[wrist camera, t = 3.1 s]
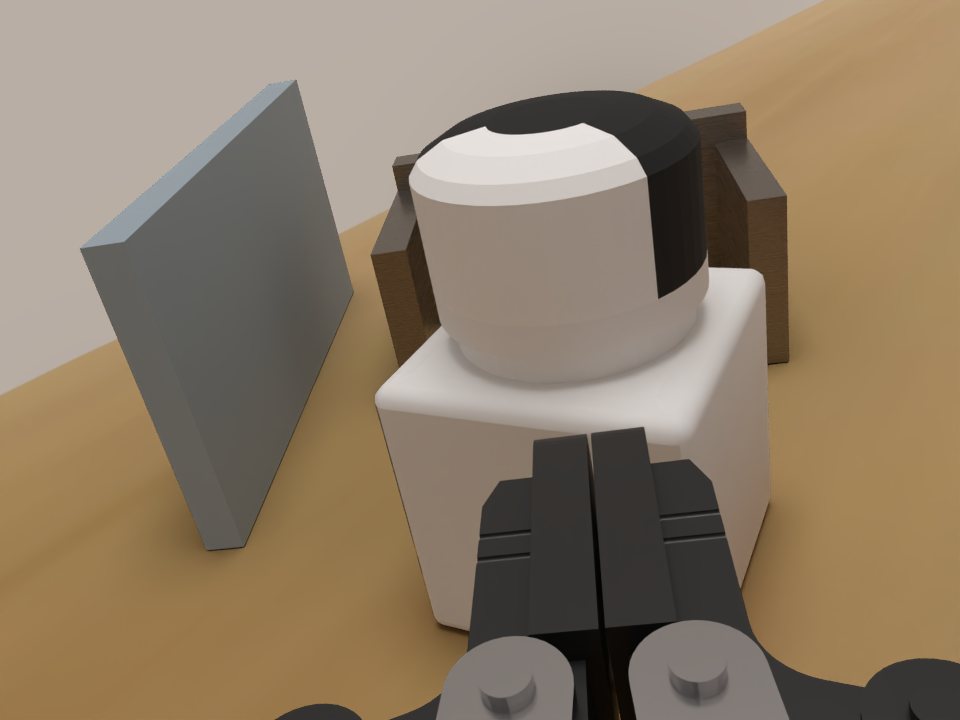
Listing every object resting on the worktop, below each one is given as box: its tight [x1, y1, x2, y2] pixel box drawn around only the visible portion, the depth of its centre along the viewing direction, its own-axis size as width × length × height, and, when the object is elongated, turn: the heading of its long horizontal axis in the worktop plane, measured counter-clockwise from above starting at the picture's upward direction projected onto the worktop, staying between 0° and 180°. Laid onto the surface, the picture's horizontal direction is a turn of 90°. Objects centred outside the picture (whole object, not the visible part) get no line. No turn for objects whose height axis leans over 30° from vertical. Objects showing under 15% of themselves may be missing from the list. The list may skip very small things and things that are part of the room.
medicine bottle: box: [375, 91, 771, 631], centre depth 21 cm, size 7×7×12 cm
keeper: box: [371, 103, 789, 368], centre depth 33 cm, size 13×8×7 cm, turn 87°
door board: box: [80, 80, 354, 550], centre depth 33 cm, size 1×18×10 cm, turn 177°
